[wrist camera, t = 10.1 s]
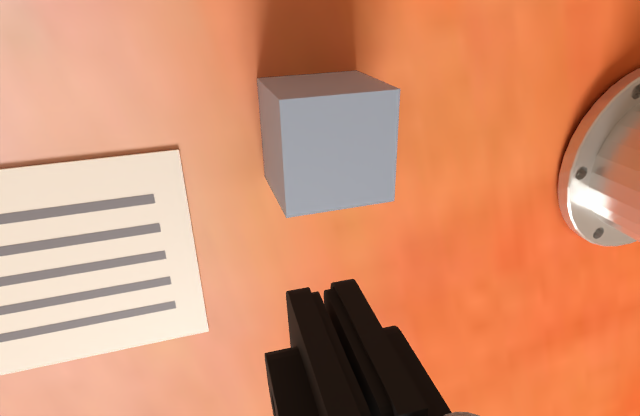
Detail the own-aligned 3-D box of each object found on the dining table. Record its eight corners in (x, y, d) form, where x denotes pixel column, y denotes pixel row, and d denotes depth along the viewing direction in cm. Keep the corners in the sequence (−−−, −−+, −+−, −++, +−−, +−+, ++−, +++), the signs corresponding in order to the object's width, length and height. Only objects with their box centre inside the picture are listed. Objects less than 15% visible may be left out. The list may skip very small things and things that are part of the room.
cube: (355, 70, 23) (400, 89, 19) (354, 164, 25) (394, 200, 21) (256, 77, 22) (279, 99, 17) (264, 176, 24) (286, 217, 20)
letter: (178, 149, 22) (178, 149, 22) (208, 330, 27) (208, 331, 27) (-316, 204, 17) (-318, 205, 17) (-172, 410, 22) (-173, 412, 22)
